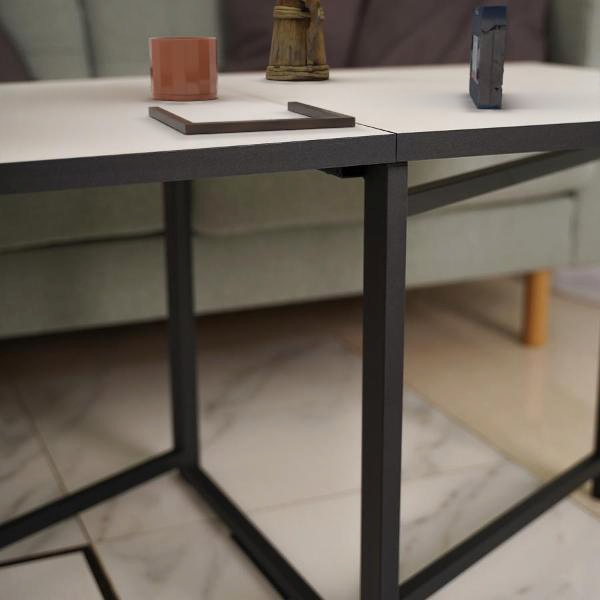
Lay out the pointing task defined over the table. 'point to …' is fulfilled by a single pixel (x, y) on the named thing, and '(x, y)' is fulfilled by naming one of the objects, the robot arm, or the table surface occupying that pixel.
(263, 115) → the table surface
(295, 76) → the wooden mug
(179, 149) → the table surface
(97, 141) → the table surface
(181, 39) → the cup
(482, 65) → the vhs cassette tape
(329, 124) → the frame
